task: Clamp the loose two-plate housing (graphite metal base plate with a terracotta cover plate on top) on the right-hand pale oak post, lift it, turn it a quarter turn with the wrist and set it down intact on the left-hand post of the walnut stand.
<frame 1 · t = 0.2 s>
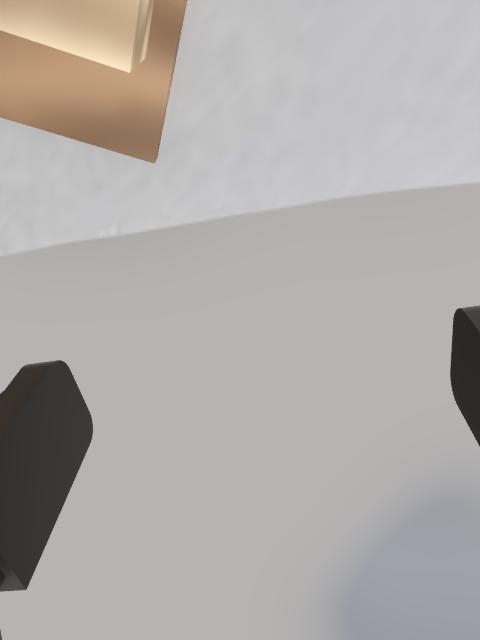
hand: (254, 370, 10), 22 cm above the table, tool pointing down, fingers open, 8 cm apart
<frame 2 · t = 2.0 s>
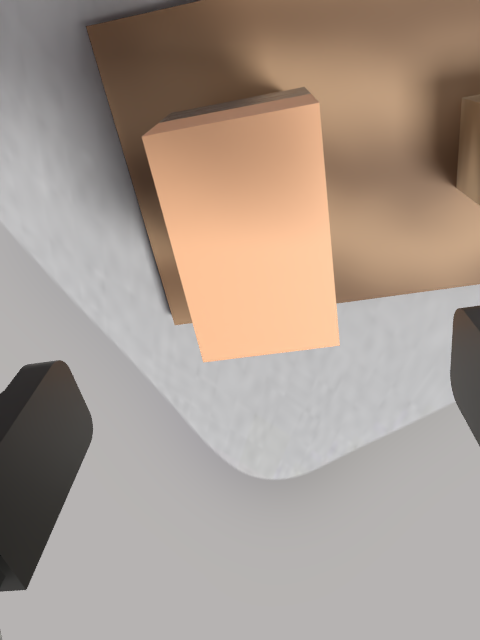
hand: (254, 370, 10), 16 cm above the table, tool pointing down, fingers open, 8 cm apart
housing base: (254, 205, 19), point 5 cm above the table, touching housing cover, twin stand
twin stand: (376, 153, 22), on the table
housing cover: (253, 226, 17), point 7 cm above the table, touching housing base
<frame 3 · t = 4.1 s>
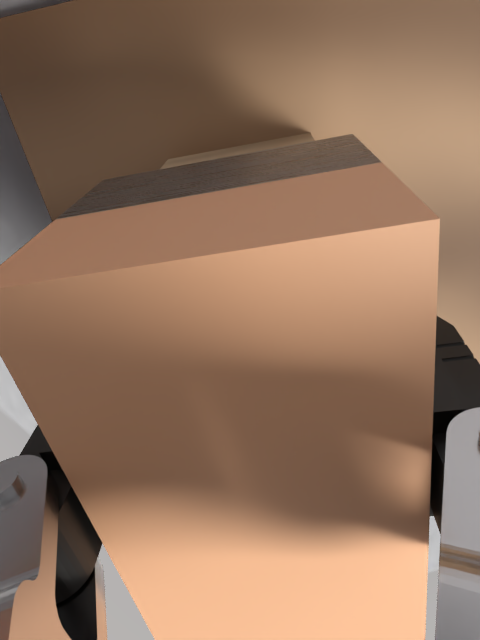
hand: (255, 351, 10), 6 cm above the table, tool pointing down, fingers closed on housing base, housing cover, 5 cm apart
housing base: (256, 328, 11), point 5 cm above the table, touching gripper, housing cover, twin stand
twin stand: (446, 220, 14), on the table
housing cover: (255, 397, 9), point 7 cm above the table, touching gripper, housing base
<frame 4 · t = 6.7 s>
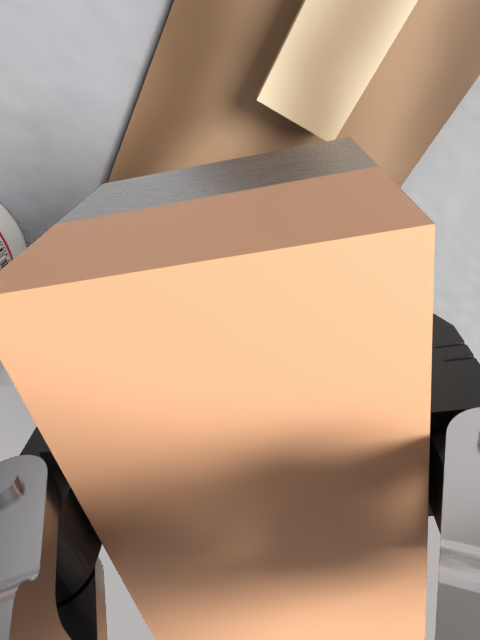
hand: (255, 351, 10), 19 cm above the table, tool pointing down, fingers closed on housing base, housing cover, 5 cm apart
housing base: (256, 330, 11), point 18 cm above the table, touching gripper, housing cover
twin stand: (259, 167, 27), on the table
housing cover: (254, 399, 9), point 21 cm above the table, touching gripper, housing base
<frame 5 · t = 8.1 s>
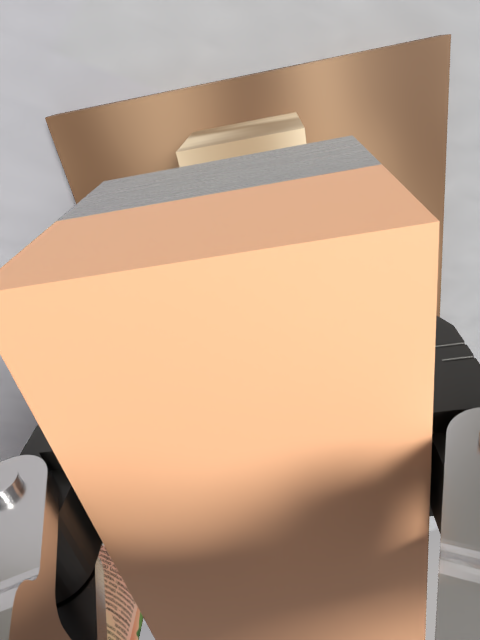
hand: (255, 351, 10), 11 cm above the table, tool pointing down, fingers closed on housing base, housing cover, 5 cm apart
fruit juice: (94, 523, 32), on the table
housing base: (256, 329, 11), point 10 cm above the table, touching gripper, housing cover
twin stand: (280, 337, 23), on the table
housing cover: (255, 398, 9), point 13 cm above the table, touching gripper, housing base
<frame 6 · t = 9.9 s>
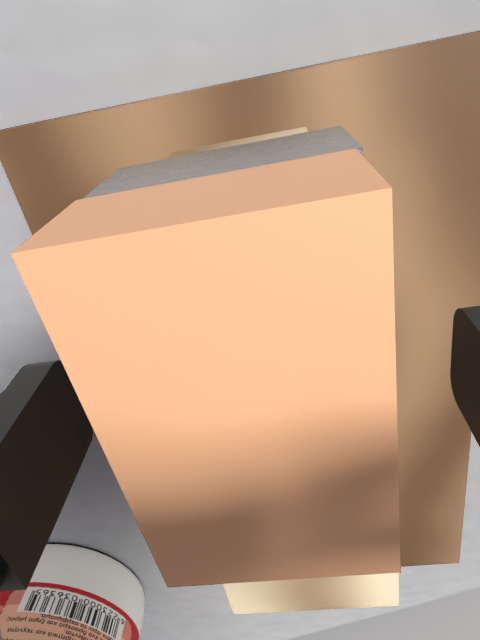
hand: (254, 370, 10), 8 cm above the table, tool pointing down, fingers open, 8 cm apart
fruit juice: (74, 582, 29), on the table
housing base: (256, 304, 12), point 5 cm above the table, touching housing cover, twin stand
twin stand: (284, 388, 20), on the table
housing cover: (250, 360, 10), point 7 cm above the table, touching housing base
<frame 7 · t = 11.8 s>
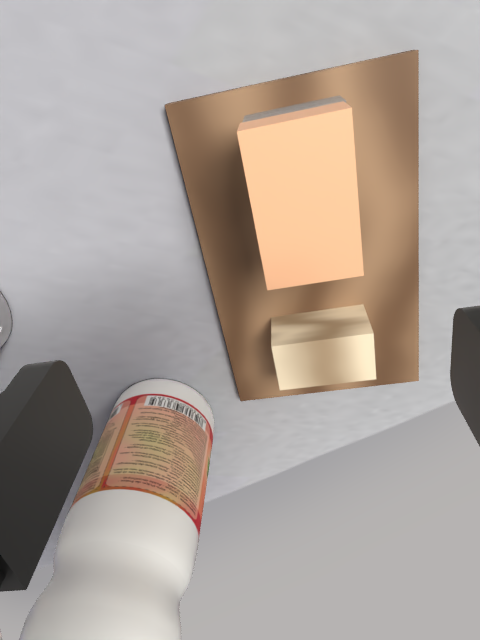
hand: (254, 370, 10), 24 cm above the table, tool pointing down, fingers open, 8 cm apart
fruit juice: (166, 413, 43), on the table
housing base: (301, 181, 26), point 5 cm above the table, touching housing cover, twin stand
twin stand: (309, 257, 34), on the table
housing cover: (301, 194, 24), point 7 cm above the table, touching housing base
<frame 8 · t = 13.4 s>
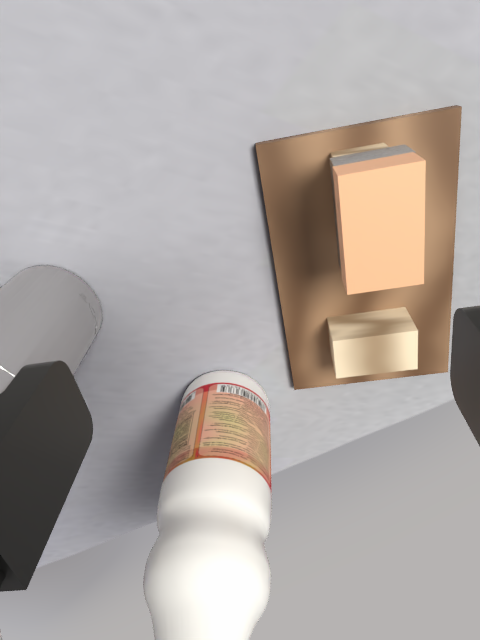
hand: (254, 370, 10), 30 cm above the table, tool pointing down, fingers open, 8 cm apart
fruit juice: (226, 401, 50), on the table
housing base: (369, 208, 33), point 5 cm above the table, touching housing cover, twin stand
twin stand: (361, 268, 41), on the table
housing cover: (375, 220, 31), point 7 cm above the table, touching housing base
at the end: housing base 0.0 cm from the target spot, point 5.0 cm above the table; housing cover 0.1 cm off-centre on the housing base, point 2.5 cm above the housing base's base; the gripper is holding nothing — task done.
